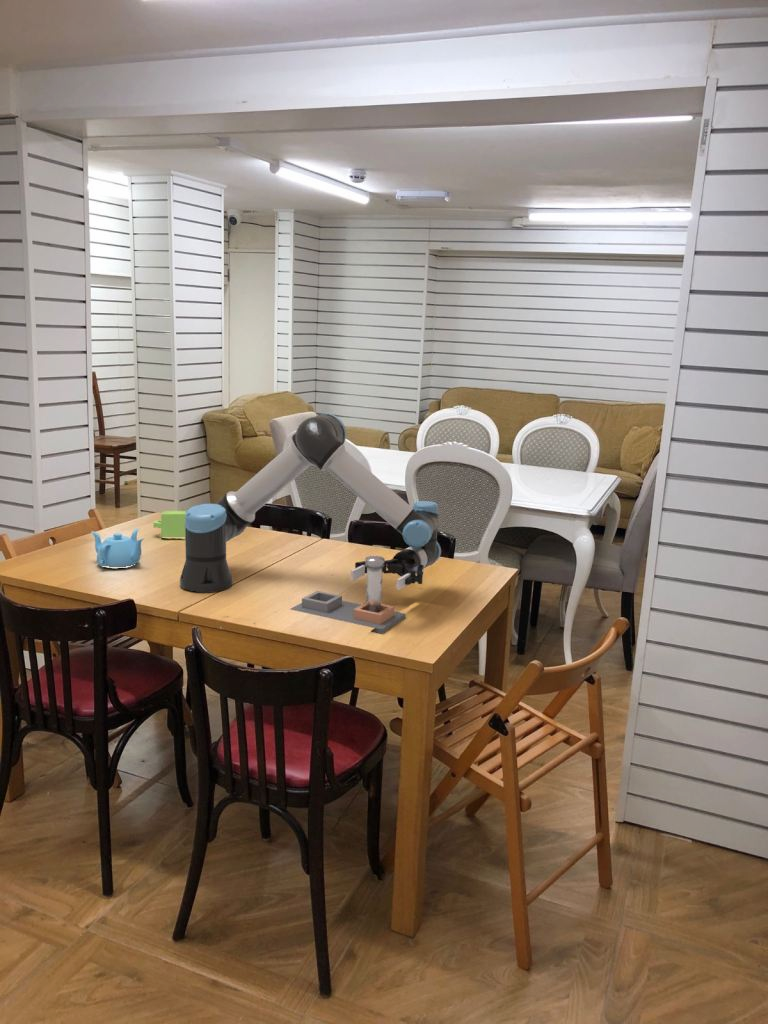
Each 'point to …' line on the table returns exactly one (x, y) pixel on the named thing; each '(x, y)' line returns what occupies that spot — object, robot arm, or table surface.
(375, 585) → the pin
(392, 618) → the dock board
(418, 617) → the table surface
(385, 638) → the table surface
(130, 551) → the teapot
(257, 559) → the table surface
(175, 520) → the gearbox
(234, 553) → the table surface
